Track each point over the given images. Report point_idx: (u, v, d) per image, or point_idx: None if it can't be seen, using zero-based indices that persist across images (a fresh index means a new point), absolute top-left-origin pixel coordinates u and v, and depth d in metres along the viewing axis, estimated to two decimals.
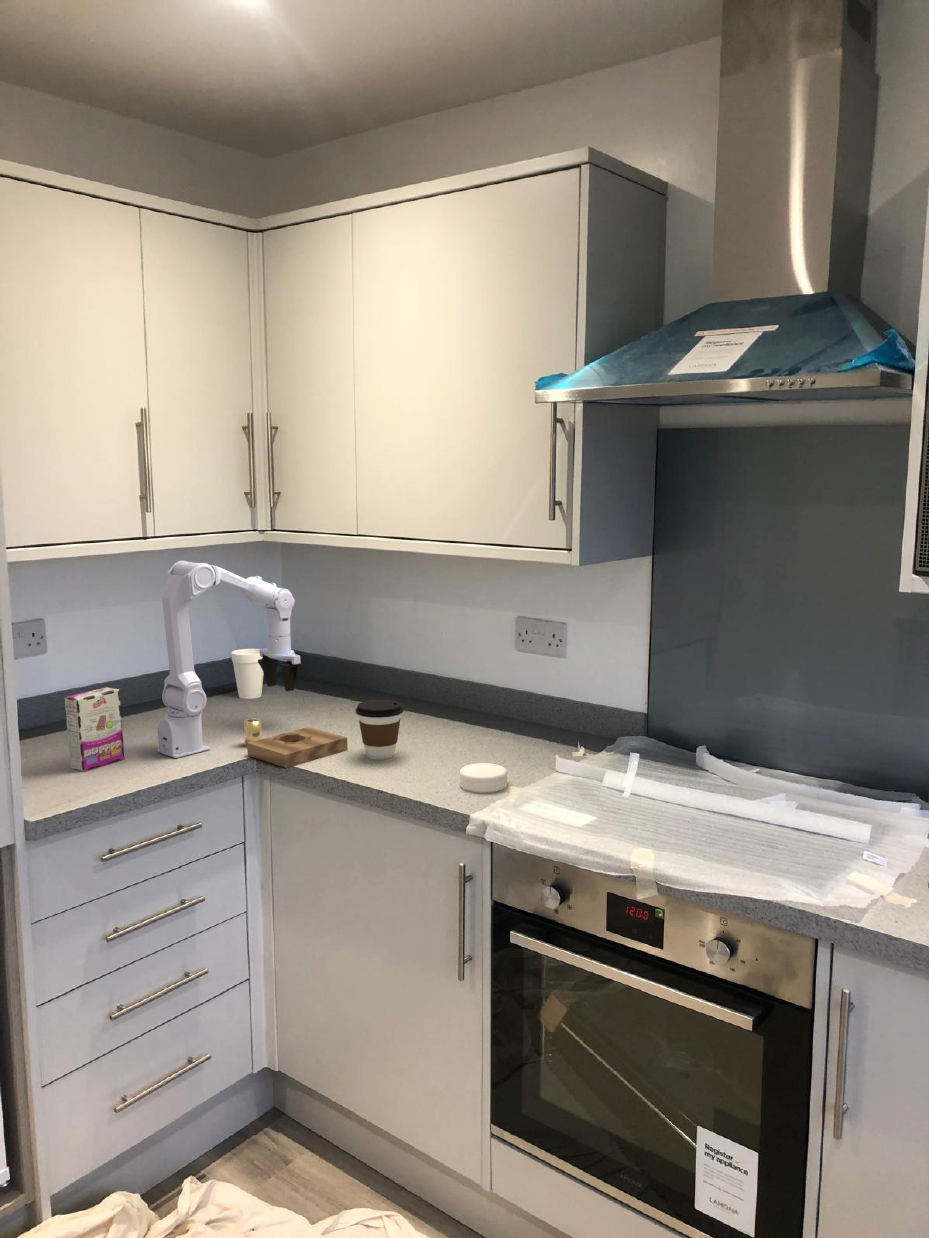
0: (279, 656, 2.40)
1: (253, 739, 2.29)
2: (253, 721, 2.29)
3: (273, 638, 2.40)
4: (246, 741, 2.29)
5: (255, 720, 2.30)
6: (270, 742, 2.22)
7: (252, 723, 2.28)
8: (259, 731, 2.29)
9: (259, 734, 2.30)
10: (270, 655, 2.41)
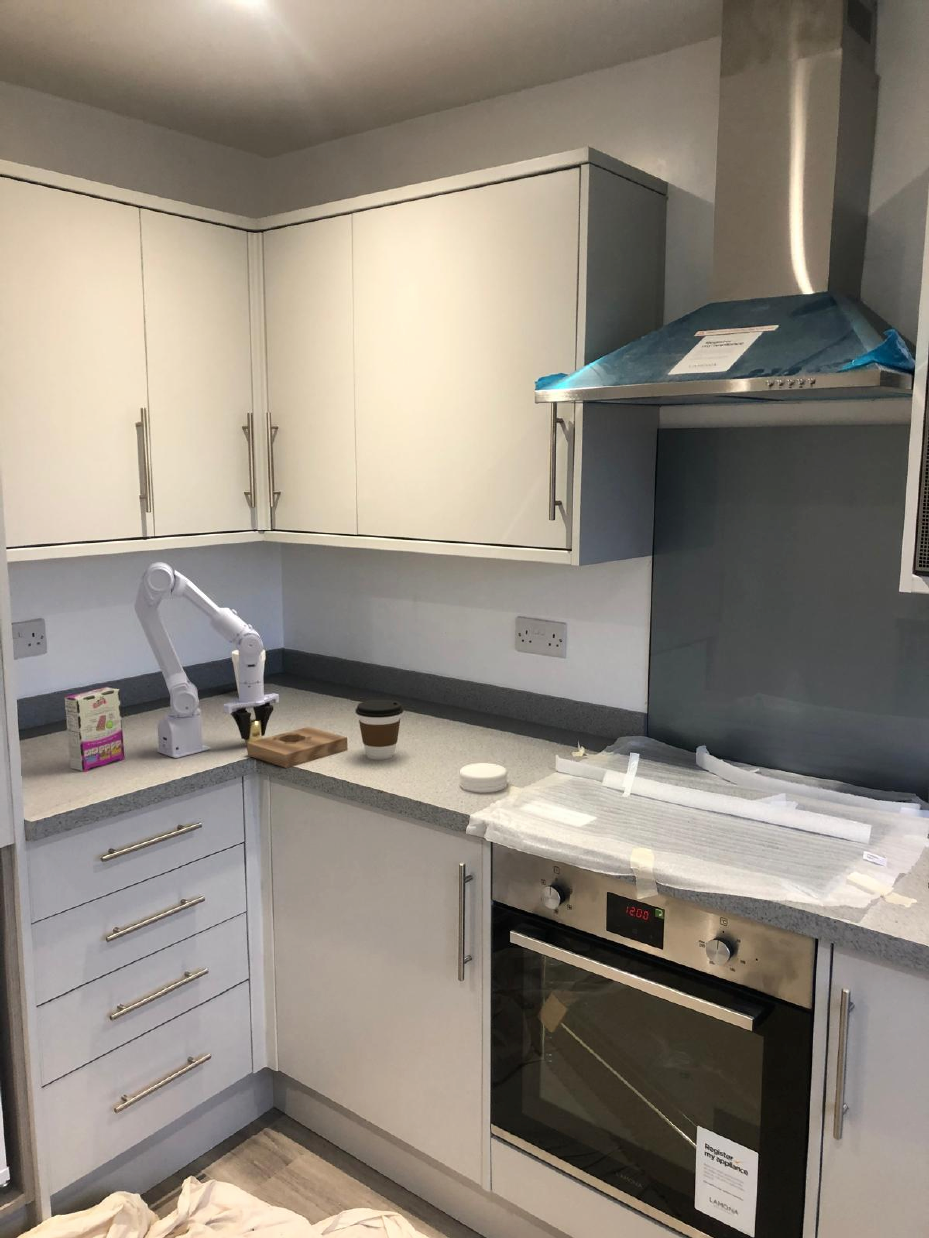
0: None
1: (253, 739, 2.29)
2: (253, 721, 2.29)
3: None
4: (246, 741, 2.29)
5: (255, 720, 2.30)
6: (270, 742, 2.22)
7: (252, 723, 2.28)
8: (259, 731, 2.29)
9: (259, 734, 2.30)
10: None
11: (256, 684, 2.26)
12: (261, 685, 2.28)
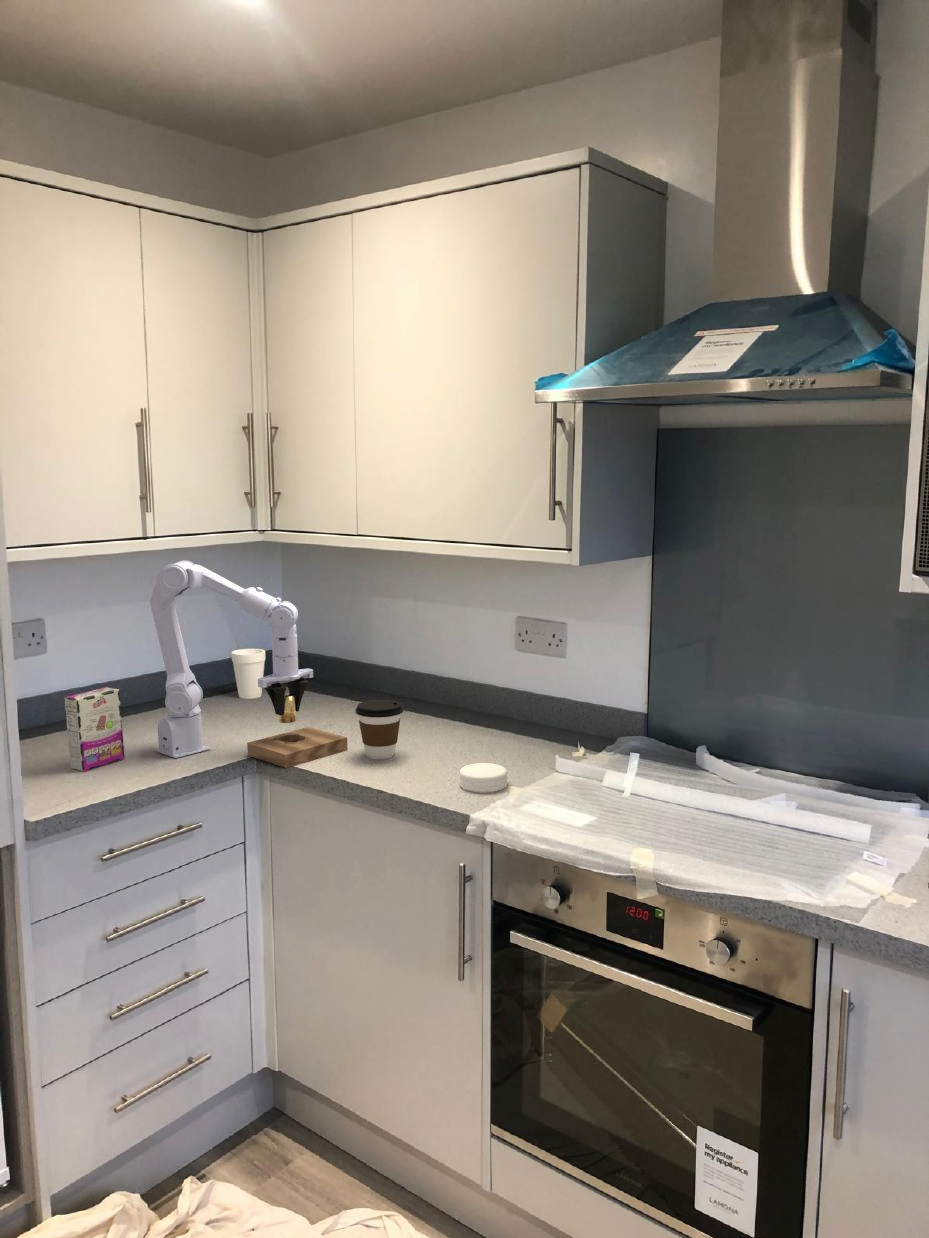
0: None
1: (287, 714, 2.23)
2: (287, 696, 2.24)
3: None
4: (280, 717, 2.24)
5: (289, 695, 2.25)
6: (270, 742, 2.22)
7: (286, 698, 2.23)
8: (293, 706, 2.24)
9: (293, 709, 2.24)
10: None
11: (291, 658, 2.21)
12: (296, 659, 2.22)
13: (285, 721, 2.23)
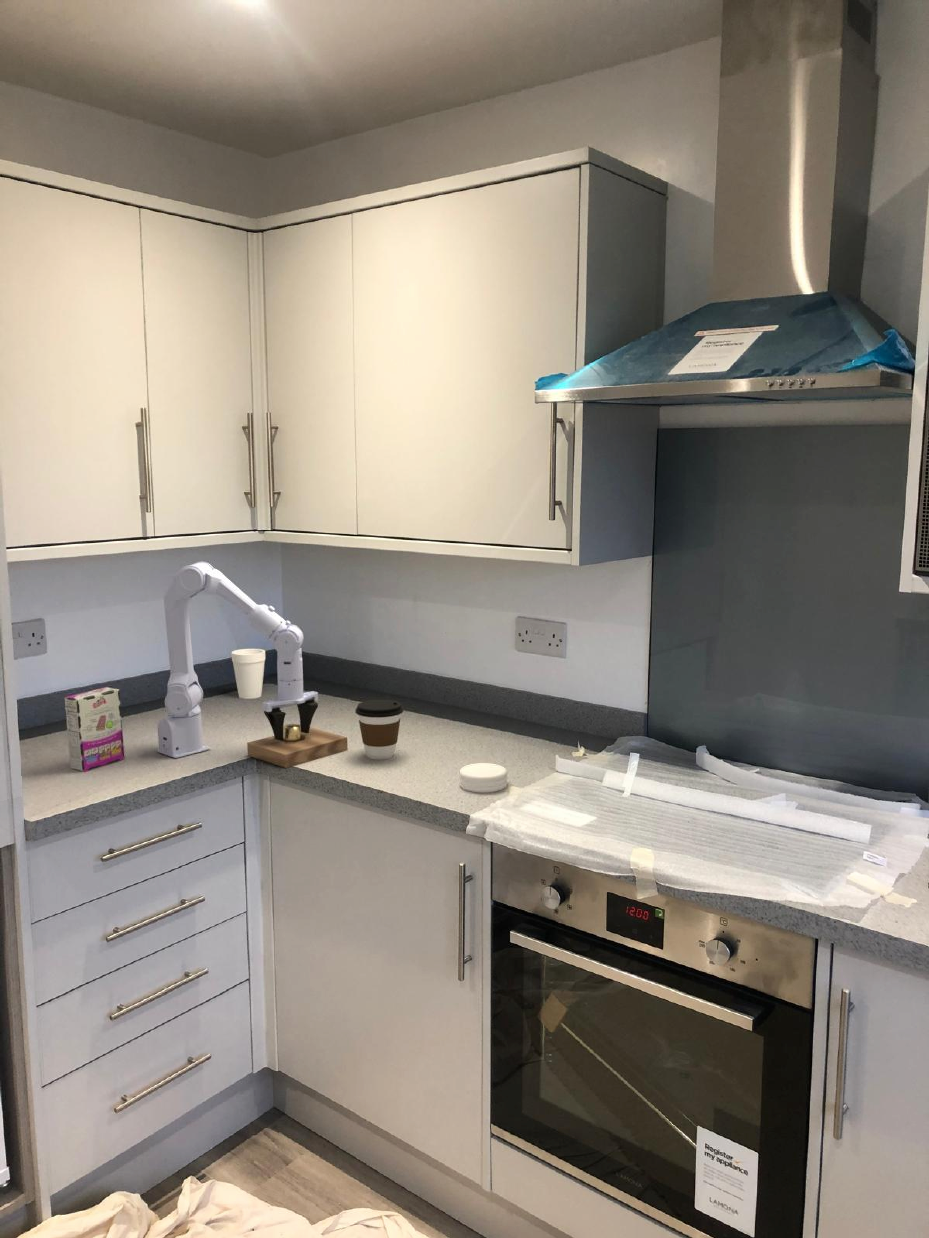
0: None
1: None
2: (292, 727, 2.24)
3: None
4: None
5: (294, 725, 2.25)
6: (270, 742, 2.22)
7: (291, 728, 2.23)
8: (298, 737, 2.25)
9: (298, 740, 2.25)
10: None
11: (296, 682, 2.21)
12: (301, 683, 2.22)
13: None
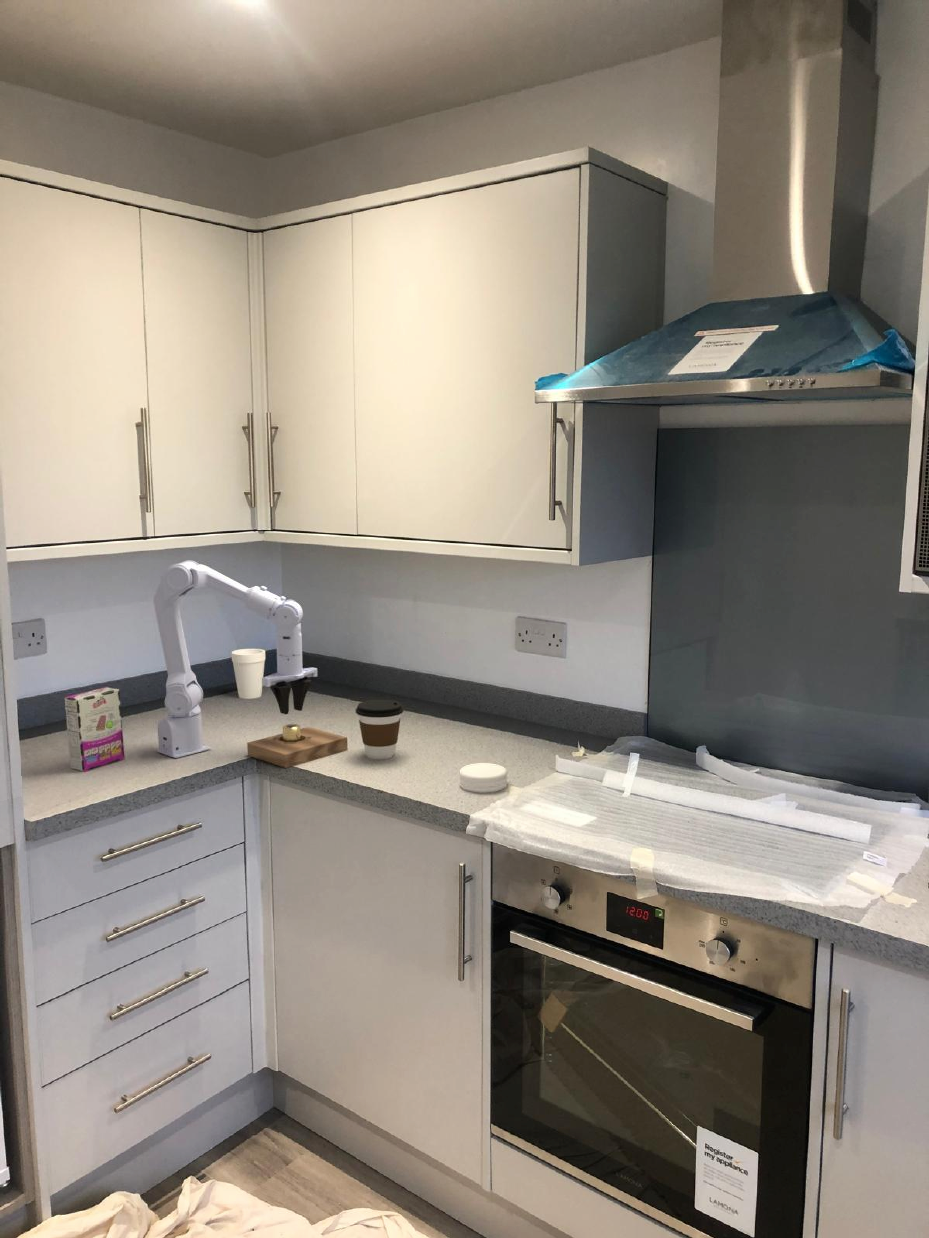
0: None
1: None
2: (292, 727, 2.24)
3: None
4: None
5: (294, 725, 2.25)
6: (270, 742, 2.22)
7: (291, 729, 2.23)
8: (298, 737, 2.25)
9: (298, 740, 2.25)
10: None
11: (295, 657, 2.20)
12: (300, 658, 2.21)
13: None
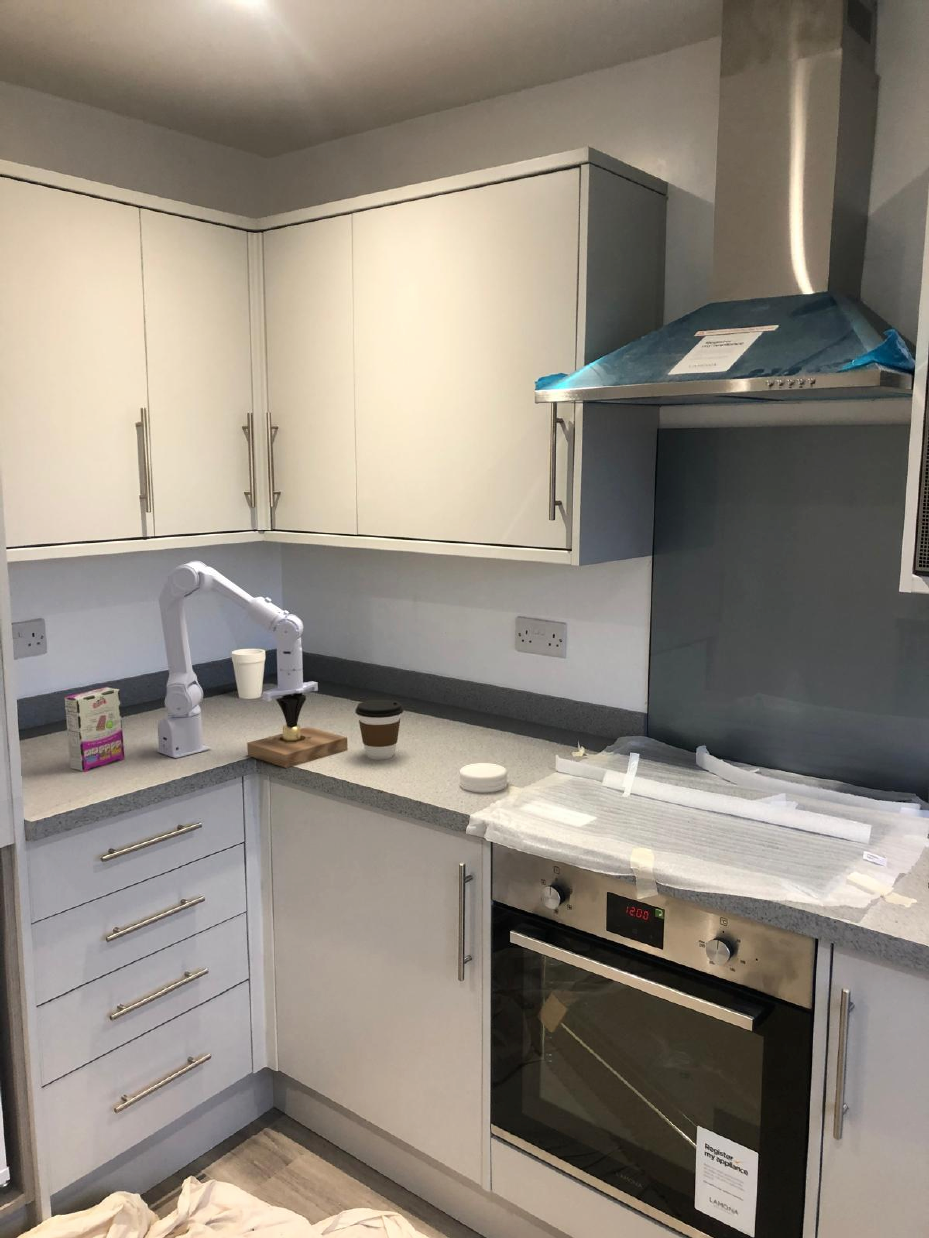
0: None
1: None
2: (292, 727, 2.24)
3: None
4: None
5: None
6: (270, 742, 2.22)
7: (291, 729, 2.23)
8: (298, 737, 2.25)
9: (298, 740, 2.25)
10: None
11: (296, 671, 2.21)
12: (300, 672, 2.22)
13: None
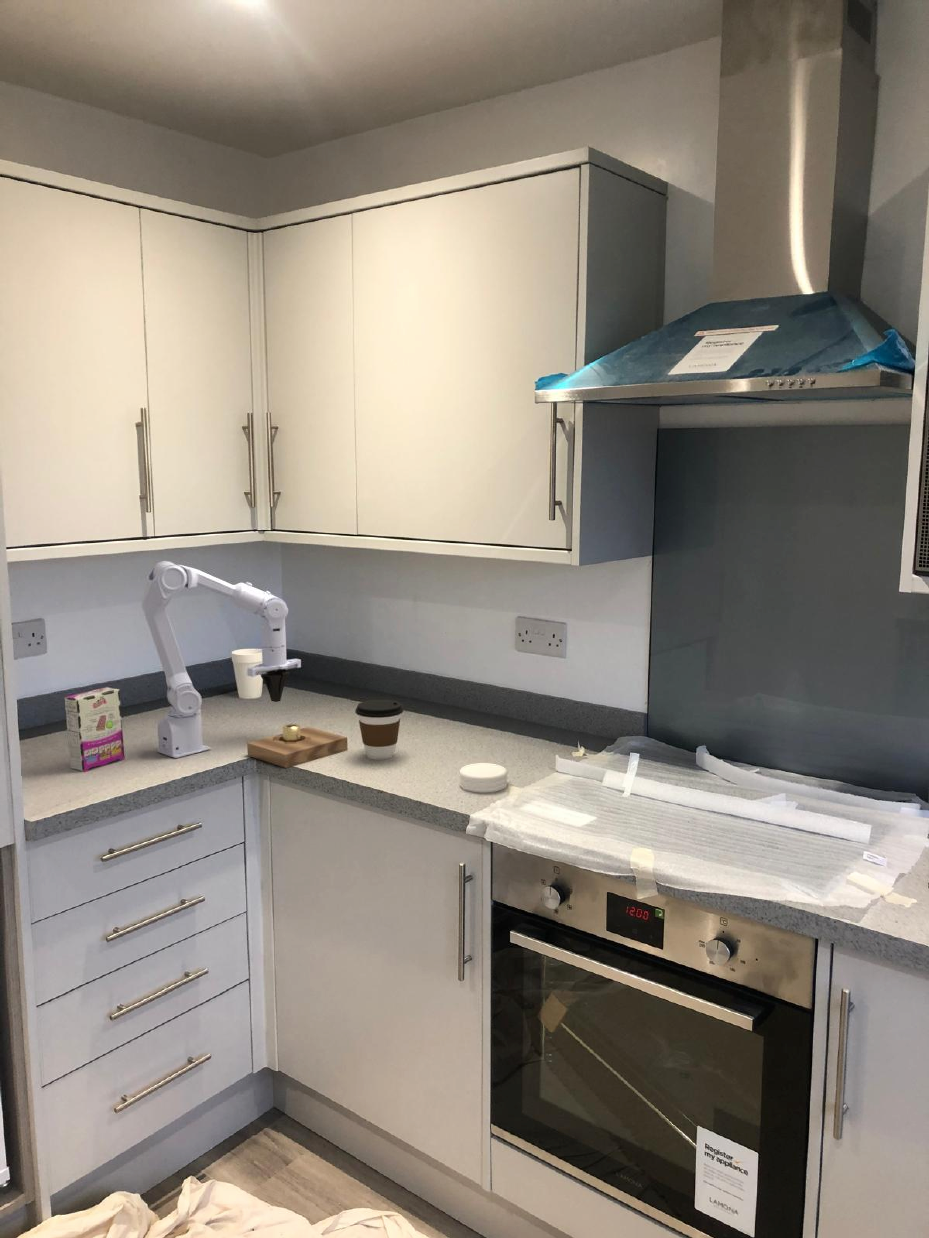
0: None
1: None
2: (292, 727, 2.24)
3: None
4: None
5: (294, 725, 2.25)
6: (270, 742, 2.22)
7: (291, 728, 2.23)
8: (298, 737, 2.25)
9: (298, 740, 2.25)
10: None
11: (279, 648, 2.30)
12: (284, 649, 2.32)
13: None
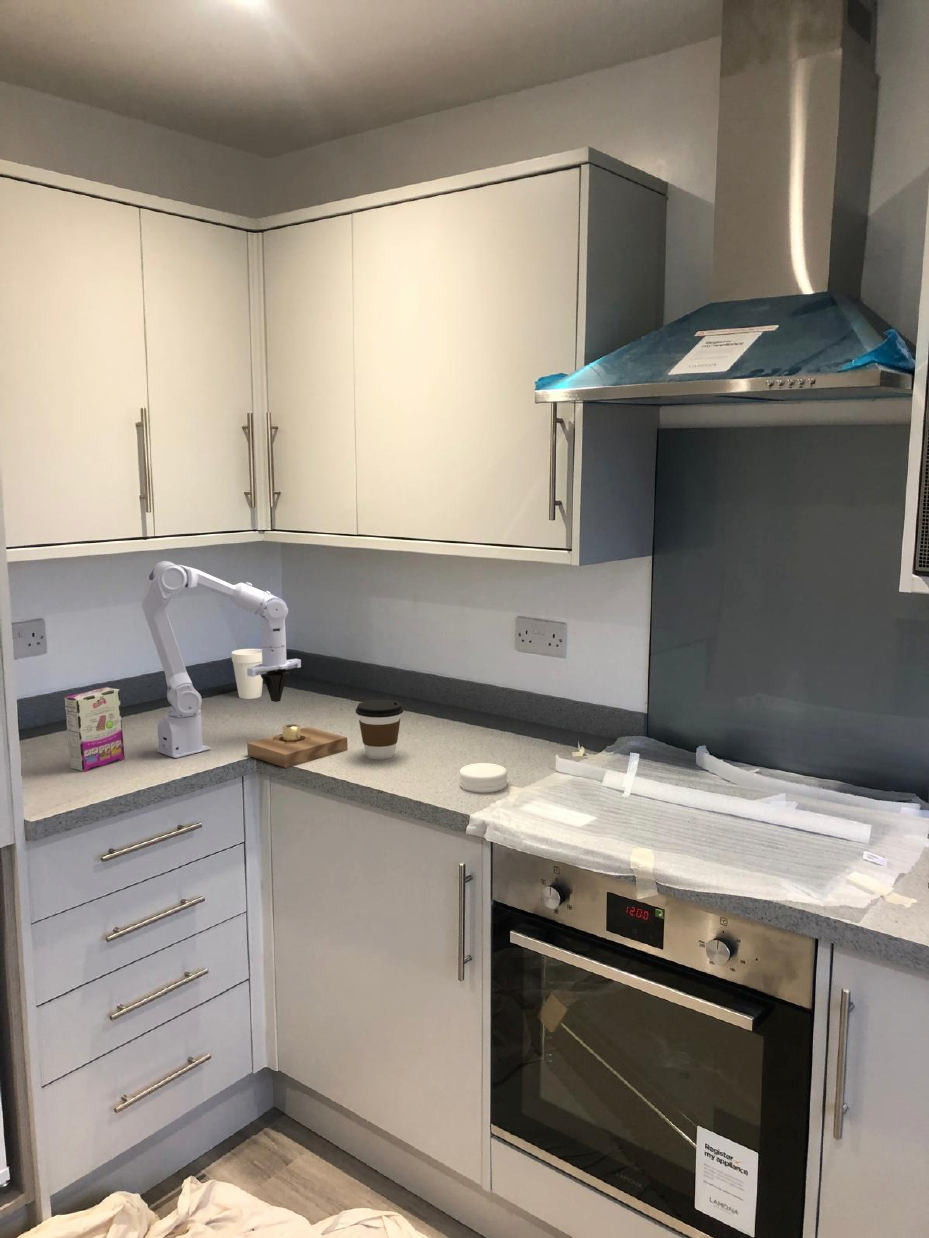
0: None
1: None
2: (292, 727, 2.24)
3: None
4: None
5: (294, 725, 2.25)
6: (270, 742, 2.22)
7: (291, 728, 2.23)
8: (298, 737, 2.25)
9: (298, 740, 2.25)
10: None
11: (279, 648, 2.30)
12: (284, 649, 2.32)
13: None
